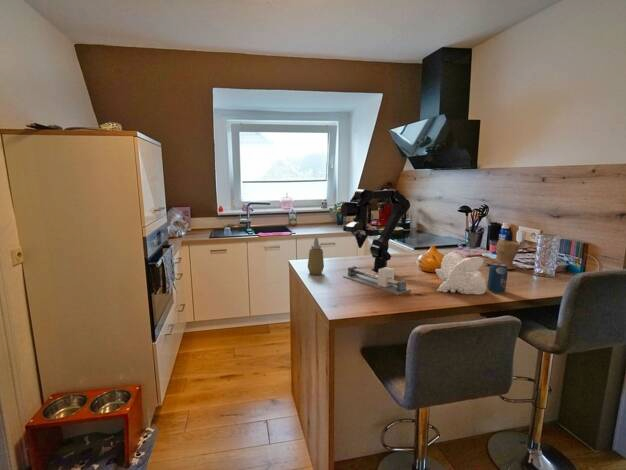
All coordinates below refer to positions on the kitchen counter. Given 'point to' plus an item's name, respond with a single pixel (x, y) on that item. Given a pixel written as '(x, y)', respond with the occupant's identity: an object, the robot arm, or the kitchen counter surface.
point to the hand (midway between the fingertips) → (360, 247)
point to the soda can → (497, 277)
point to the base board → (375, 283)
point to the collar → (385, 276)
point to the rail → (400, 284)
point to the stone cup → (505, 253)
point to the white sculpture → (461, 274)
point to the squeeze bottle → (315, 258)
